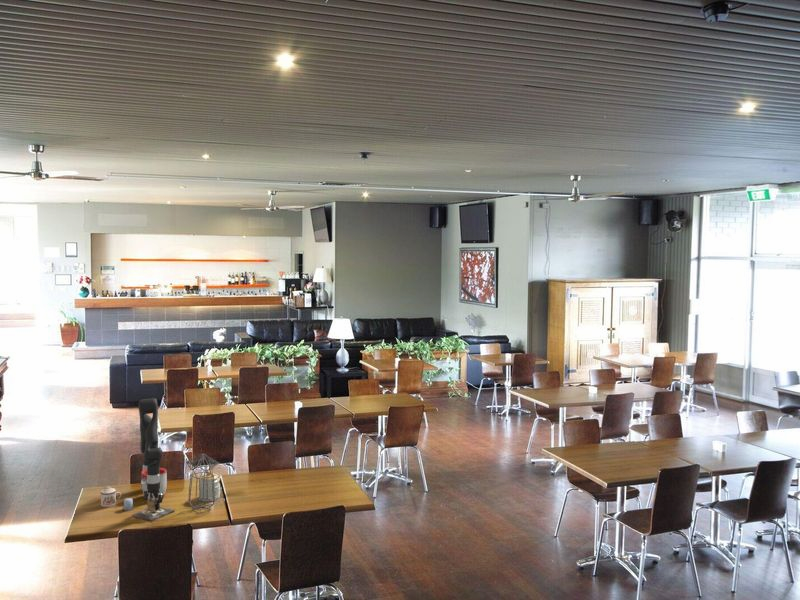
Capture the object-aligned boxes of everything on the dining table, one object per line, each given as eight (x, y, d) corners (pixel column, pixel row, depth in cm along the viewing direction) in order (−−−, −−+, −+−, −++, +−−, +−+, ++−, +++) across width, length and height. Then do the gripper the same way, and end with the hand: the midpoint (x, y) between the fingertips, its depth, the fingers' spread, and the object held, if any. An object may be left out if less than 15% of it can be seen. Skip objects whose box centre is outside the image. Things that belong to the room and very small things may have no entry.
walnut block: (153, 507, 442) (153, 498, 442) (159, 509, 440) (159, 499, 440) (147, 510, 438) (147, 500, 438) (153, 512, 436) (153, 502, 435)
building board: (155, 506, 451) (155, 503, 451) (174, 511, 444) (174, 508, 444) (132, 516, 435) (132, 513, 435) (152, 521, 428) (152, 518, 428)
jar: (214, 502, 460) (214, 475, 458) (195, 500, 462) (194, 473, 461) (223, 495, 473) (223, 469, 471) (204, 493, 475) (204, 467, 474)
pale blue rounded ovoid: (128, 507, 450) (128, 497, 449) (134, 508, 447) (134, 499, 447) (122, 509, 445) (122, 500, 445) (128, 511, 443) (128, 501, 442)
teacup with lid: (101, 508, 446) (101, 490, 445) (99, 503, 454) (99, 485, 453) (122, 505, 452) (122, 487, 451) (120, 500, 460) (119, 482, 459)
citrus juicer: (133, 499, 463) (133, 468, 461) (154, 491, 478) (154, 461, 476) (151, 504, 455) (151, 472, 454) (172, 495, 471) (172, 465, 469)
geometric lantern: (183, 509, 447) (184, 453, 445) (206, 504, 458) (207, 449, 456) (196, 516, 436) (197, 458, 434) (220, 510, 447) (220, 454, 445)
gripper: (167, 481, 438) (167, 509, 439) (149, 477, 444) (149, 504, 446) (157, 485, 431) (157, 513, 433) (139, 480, 438) (140, 508, 439)
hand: (153, 508), depth 439 cm, fingers closed on walnut block, 4 cm apart
